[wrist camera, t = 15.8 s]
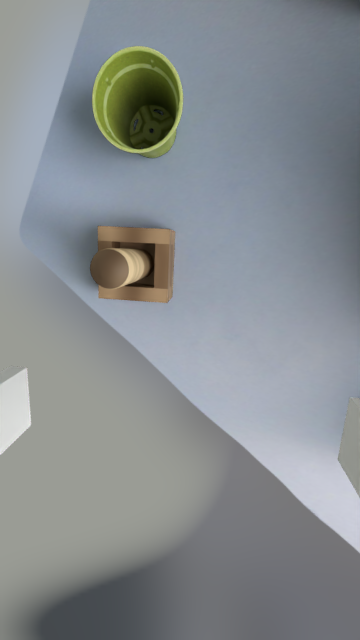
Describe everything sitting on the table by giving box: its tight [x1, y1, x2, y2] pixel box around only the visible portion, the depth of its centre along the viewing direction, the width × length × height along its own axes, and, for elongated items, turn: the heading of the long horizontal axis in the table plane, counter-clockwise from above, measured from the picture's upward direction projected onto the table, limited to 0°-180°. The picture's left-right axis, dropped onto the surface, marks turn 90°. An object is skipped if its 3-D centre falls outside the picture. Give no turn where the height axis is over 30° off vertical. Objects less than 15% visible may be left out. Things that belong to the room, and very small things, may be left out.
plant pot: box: [92, 46, 183, 158], centre depth 35 cm, size 9×9×9 cm
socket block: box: [98, 226, 175, 303], centre depth 41 cm, size 9×9×5 cm
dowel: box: [90, 248, 154, 289], centre depth 36 cm, size 4×4×12 cm
